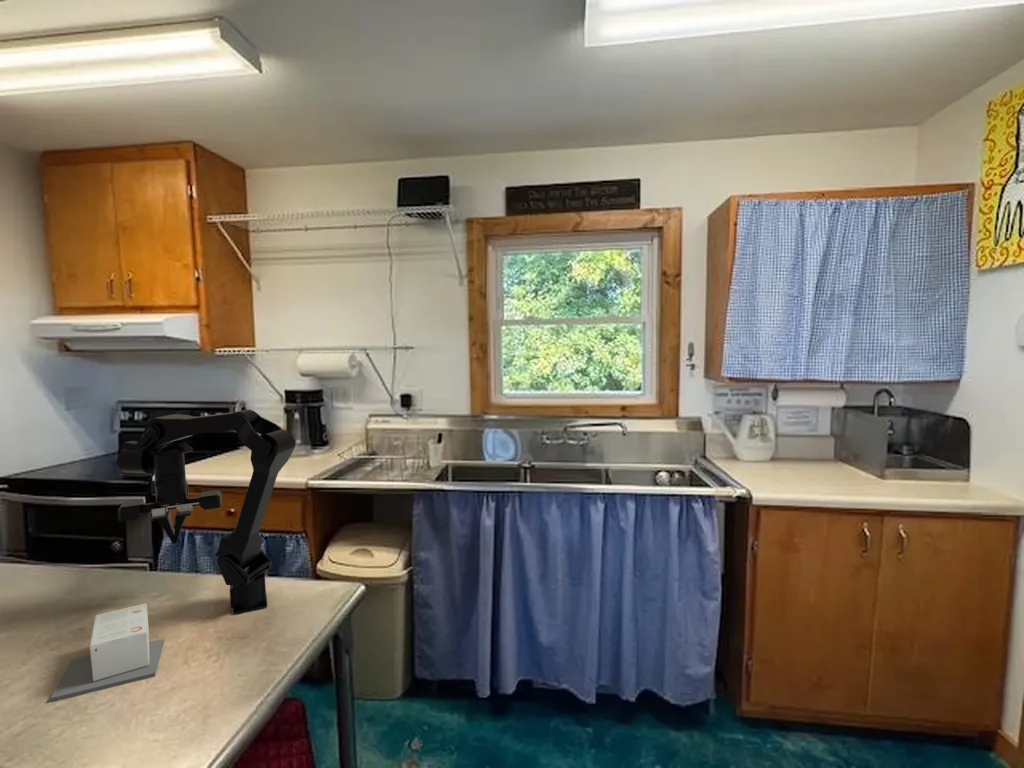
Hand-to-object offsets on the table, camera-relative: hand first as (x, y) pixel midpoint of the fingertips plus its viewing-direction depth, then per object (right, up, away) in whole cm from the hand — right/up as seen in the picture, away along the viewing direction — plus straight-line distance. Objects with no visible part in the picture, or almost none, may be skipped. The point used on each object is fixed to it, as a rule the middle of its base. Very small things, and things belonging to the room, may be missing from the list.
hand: (175, 543), depth 119 cm
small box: (0, -11, -16) cm, 19 cm away
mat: (+4, -15, -24) cm, 28 cm away
